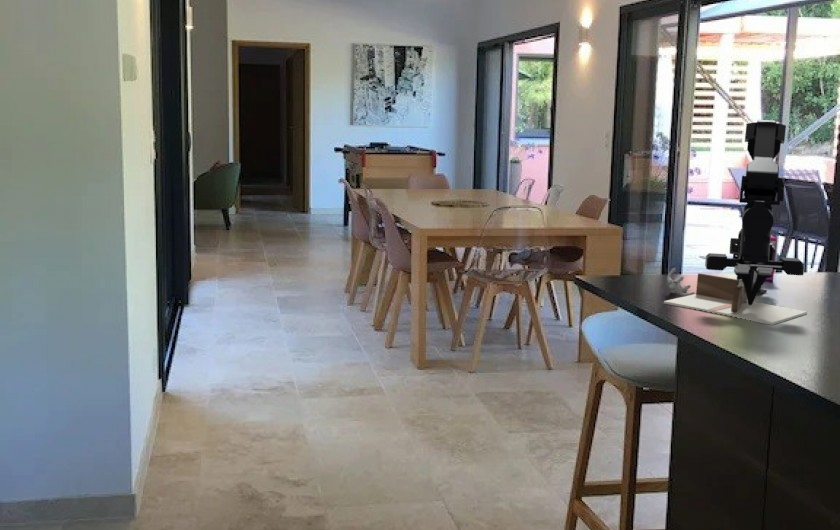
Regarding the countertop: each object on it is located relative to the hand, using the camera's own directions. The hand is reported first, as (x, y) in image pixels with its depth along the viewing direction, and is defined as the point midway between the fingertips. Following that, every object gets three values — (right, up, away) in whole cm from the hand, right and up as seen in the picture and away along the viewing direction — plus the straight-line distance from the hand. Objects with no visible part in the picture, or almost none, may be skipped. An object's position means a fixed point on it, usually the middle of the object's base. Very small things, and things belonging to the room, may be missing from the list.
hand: (749, 304), depth 183 cm
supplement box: (+18, +4, +43) cm, 47 cm away
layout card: (-1, -1, +5) cm, 6 cm away
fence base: (-2, +1, +13) cm, 13 cm away
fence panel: (-1, -1, +3) cm, 4 cm away
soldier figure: (-9, +1, +20) cm, 22 cm away
